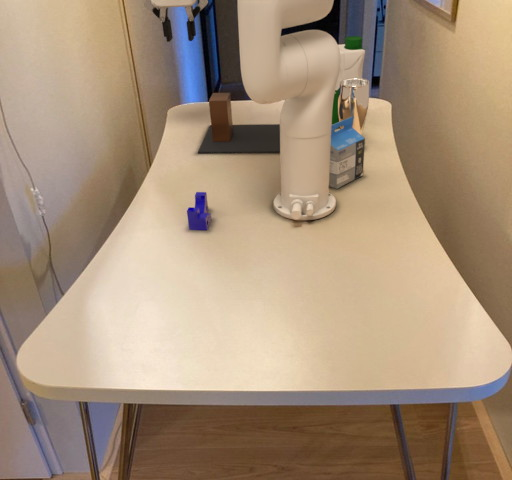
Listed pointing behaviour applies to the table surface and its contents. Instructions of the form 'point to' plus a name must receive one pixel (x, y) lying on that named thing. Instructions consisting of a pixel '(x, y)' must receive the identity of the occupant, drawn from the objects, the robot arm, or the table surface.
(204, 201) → the cable holder
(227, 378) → the table surface
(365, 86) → the silver metal cup
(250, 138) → the mat
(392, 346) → the table surface
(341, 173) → the label tape box
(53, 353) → the table surface
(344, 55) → the milk carton
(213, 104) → the walnut block
